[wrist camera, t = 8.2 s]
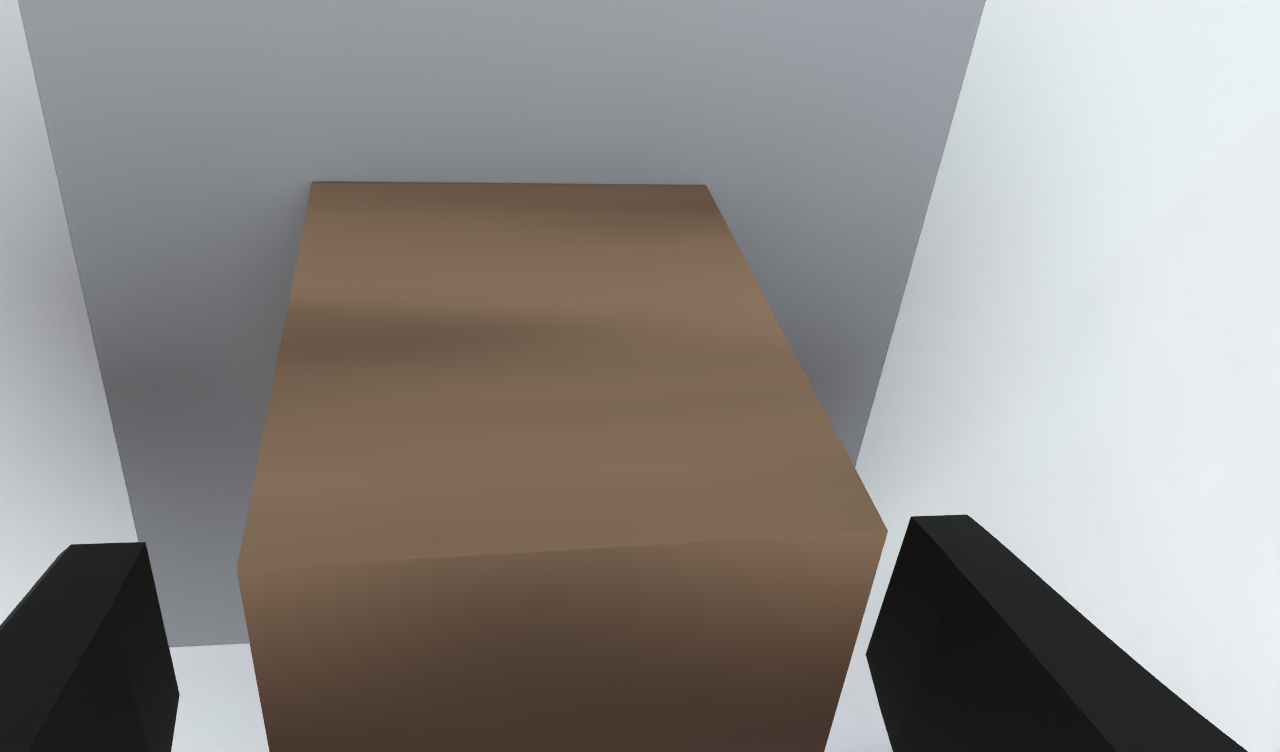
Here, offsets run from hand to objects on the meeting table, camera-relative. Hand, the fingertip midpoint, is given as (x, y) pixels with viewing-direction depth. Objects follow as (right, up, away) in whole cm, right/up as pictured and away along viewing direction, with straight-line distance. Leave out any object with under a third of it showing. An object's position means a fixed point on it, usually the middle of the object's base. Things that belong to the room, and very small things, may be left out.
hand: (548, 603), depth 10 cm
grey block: (-1, +4, +6) cm, 7 cm away
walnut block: (-1, +3, +3) cm, 4 cm away
